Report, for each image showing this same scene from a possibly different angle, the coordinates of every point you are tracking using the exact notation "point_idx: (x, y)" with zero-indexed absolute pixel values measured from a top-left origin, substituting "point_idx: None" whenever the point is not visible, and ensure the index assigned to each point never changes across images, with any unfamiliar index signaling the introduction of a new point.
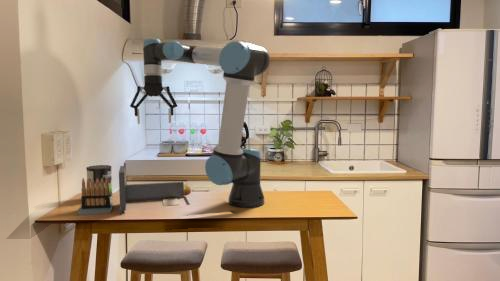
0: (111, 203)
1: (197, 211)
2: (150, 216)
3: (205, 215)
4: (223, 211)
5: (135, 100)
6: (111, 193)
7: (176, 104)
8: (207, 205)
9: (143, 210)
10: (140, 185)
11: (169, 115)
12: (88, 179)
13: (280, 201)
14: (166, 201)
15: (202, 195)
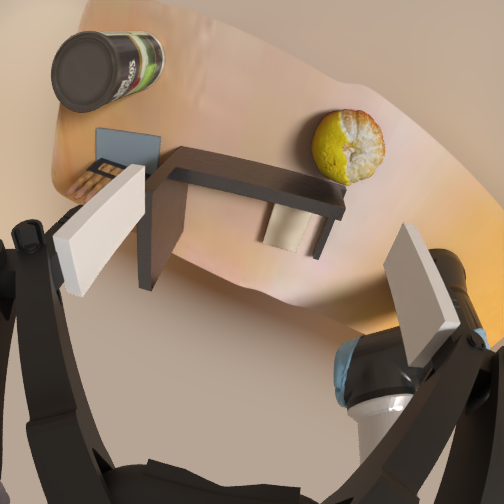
0: (156, 146)
1: (318, 282)
2: (225, 267)
3: (317, 306)
4: (357, 302)
5: (5, 353)
6: (156, 72)
7: (479, 402)
8: (359, 257)
9: (220, 224)
10: (214, 188)
11: (397, 310)
12: (77, 198)
13: (473, 297)
14: (279, 217)
15: (404, 171)
